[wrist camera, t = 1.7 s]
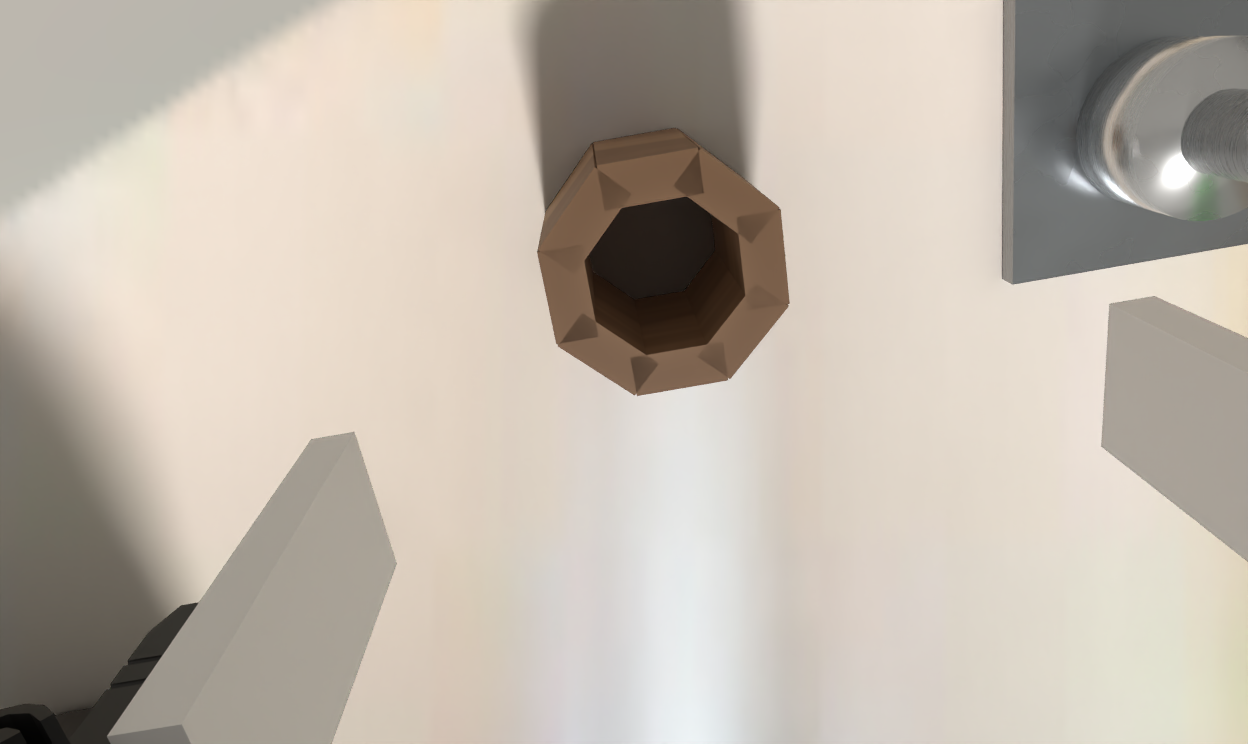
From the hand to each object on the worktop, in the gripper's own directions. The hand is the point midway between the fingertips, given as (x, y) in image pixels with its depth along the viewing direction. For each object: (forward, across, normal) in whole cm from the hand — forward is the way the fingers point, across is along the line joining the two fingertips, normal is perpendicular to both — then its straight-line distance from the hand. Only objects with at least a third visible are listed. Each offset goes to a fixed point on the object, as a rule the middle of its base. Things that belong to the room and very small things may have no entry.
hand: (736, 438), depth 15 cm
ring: (+17, 0, 0) cm, 17 cm away
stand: (+17, +18, +1) cm, 25 cm away
